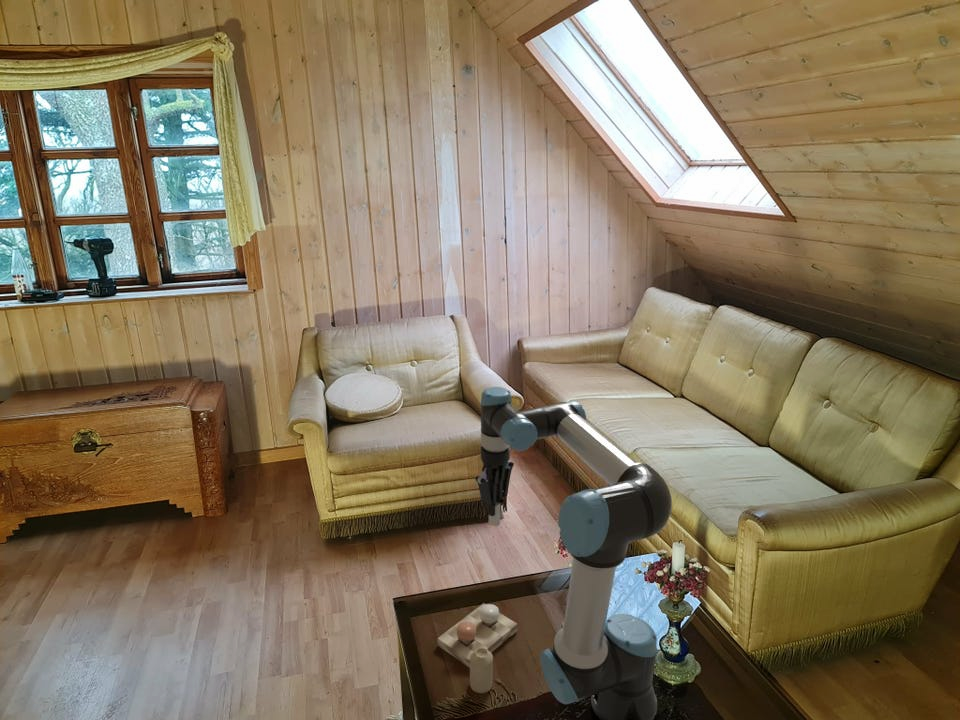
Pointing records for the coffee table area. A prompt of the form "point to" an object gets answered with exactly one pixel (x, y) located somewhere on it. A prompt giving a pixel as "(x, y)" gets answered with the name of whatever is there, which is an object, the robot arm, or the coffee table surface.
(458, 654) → the cream compartment tray
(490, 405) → the robot arm
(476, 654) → the cream bottle
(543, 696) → the coffee table surface
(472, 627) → the pink light bulb
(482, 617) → the white round piece
